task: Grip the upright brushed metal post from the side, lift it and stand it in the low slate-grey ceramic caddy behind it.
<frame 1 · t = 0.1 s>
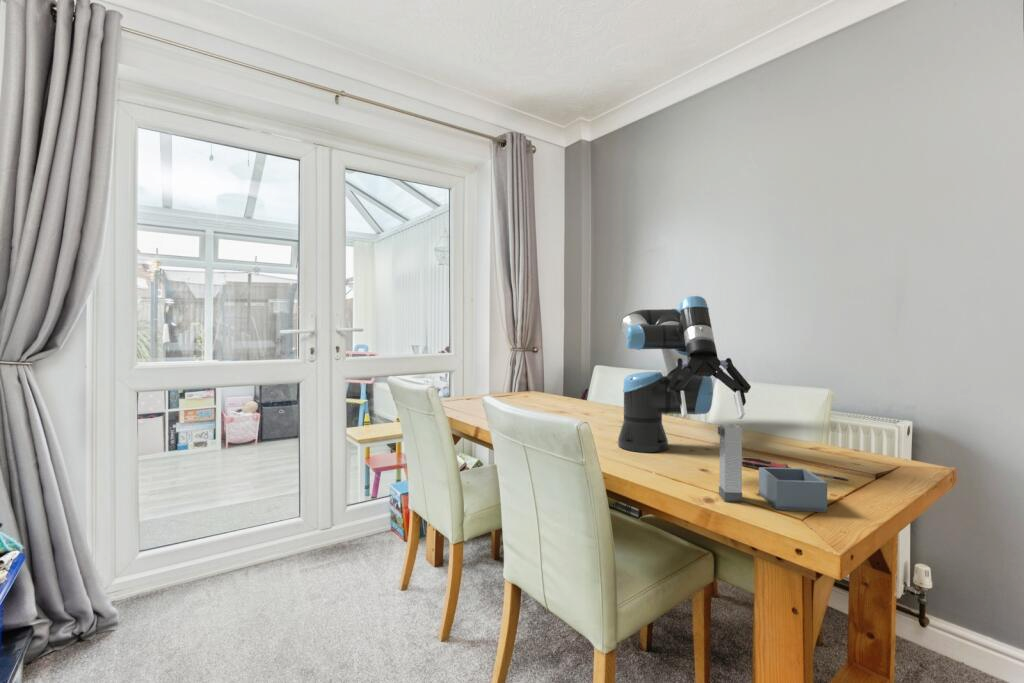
hand: (713, 416, 118), 15 cm above the table, fingers open, 13 cm apart
caddy: (791, 502, 101), on the table
screwdriver: (790, 476, 120), on the table
brushed metal post: (730, 498, 104), on the table
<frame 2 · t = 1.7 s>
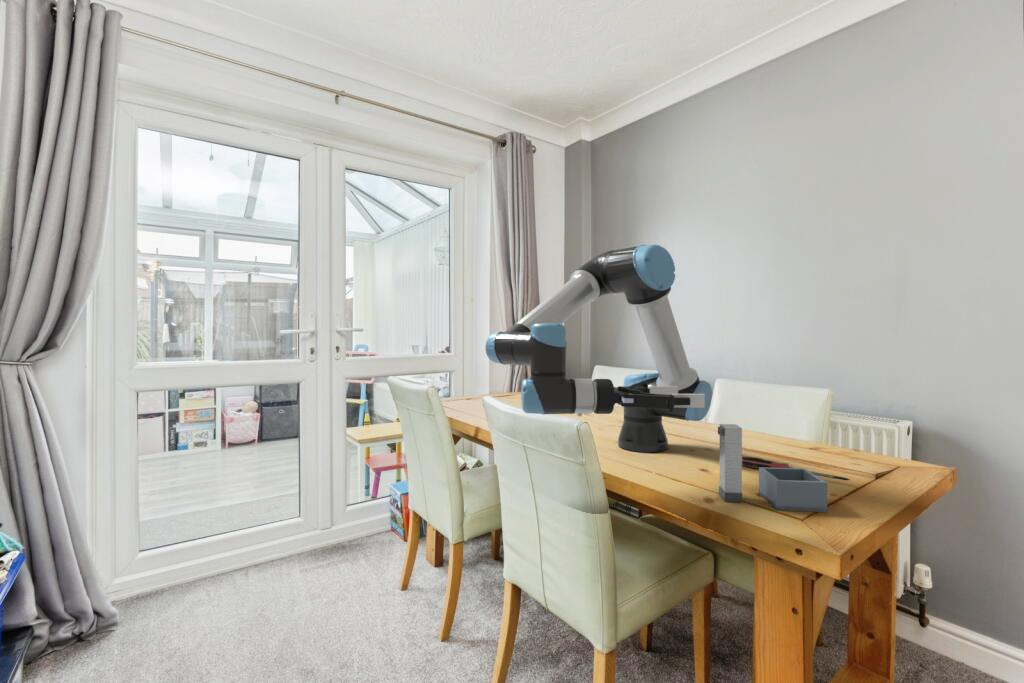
hand: (689, 396, 103), 23 cm above the table, fingers open, 13 cm apart
nothing on the table moved.
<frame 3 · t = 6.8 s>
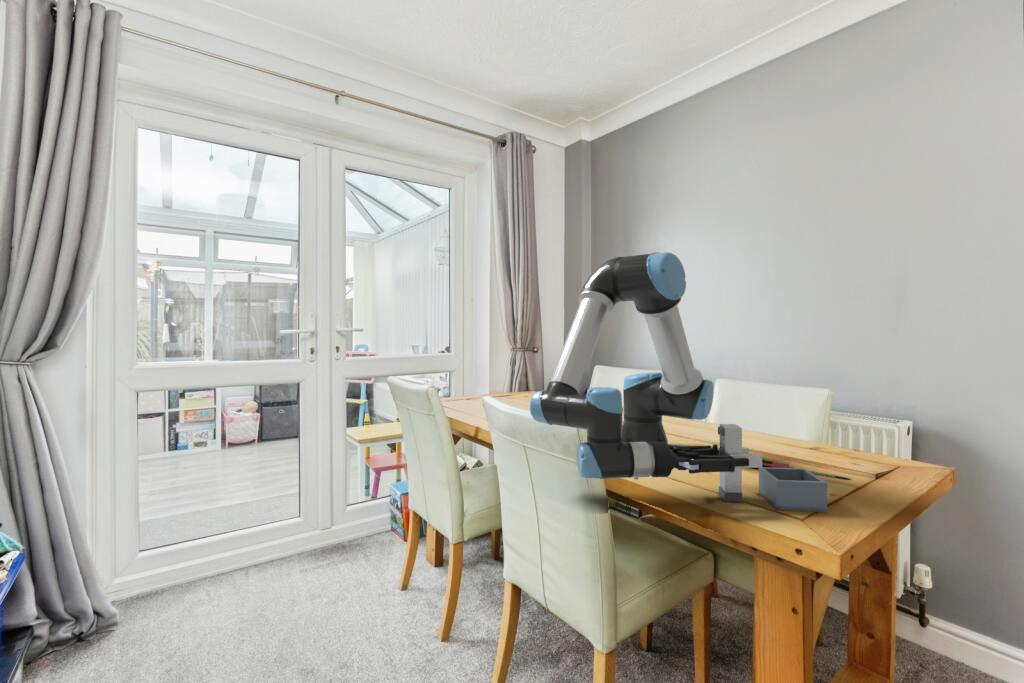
hand: (754, 457, 103), 9 cm above the table, fingers closed on brushed metal post, 4 cm apart
brushed metal post: (730, 498, 104), on the table, touching gripper
everything else where it was.
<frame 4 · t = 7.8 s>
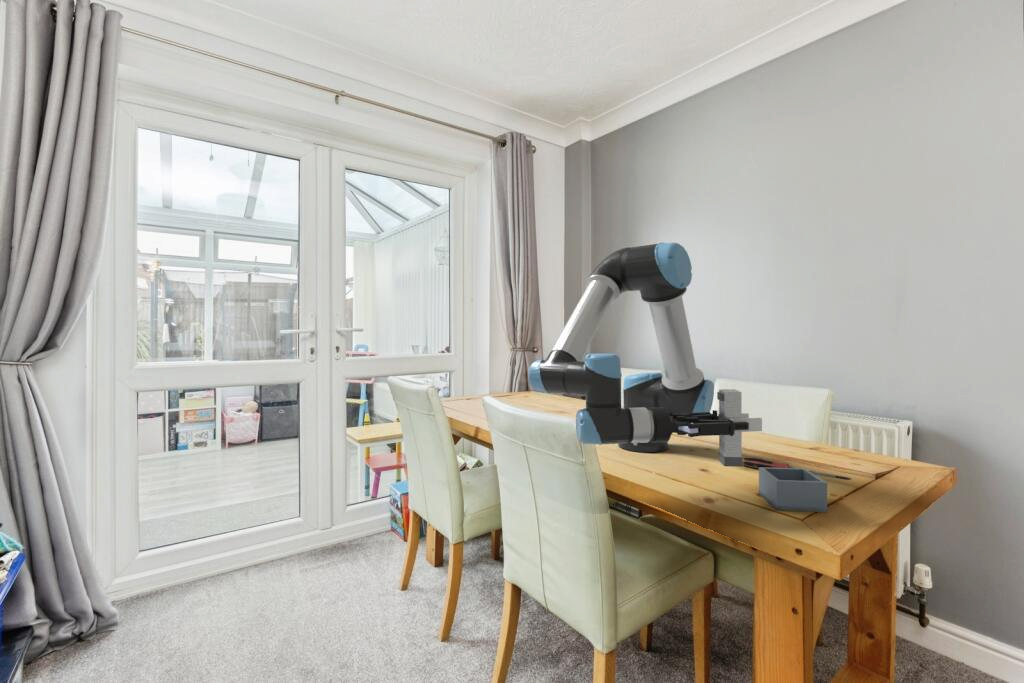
hand: (754, 421, 103), 17 cm above the table, fingers closed on brushed metal post, 4 cm apart
brushed metal post: (730, 463, 103), point 8 cm above the table, touching gripper
everything else where it was.
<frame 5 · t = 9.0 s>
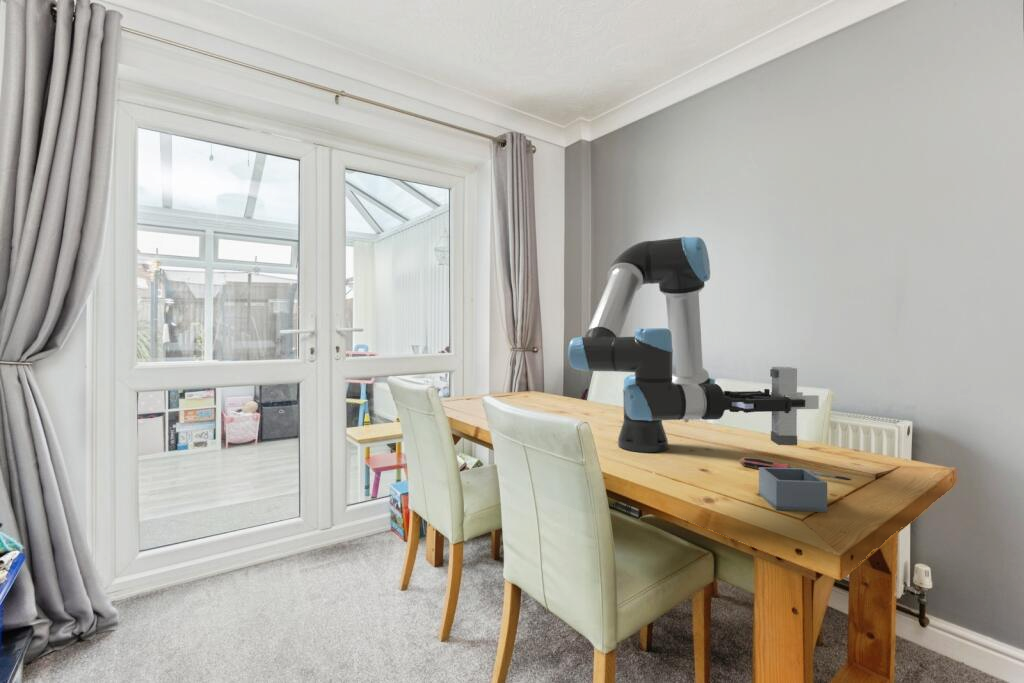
hand: (809, 400, 100), 22 cm above the table, fingers closed on brushed metal post, 4 cm apart
brushed metal post: (783, 442, 100), point 13 cm above the table, touching gripper
everything else where it was.
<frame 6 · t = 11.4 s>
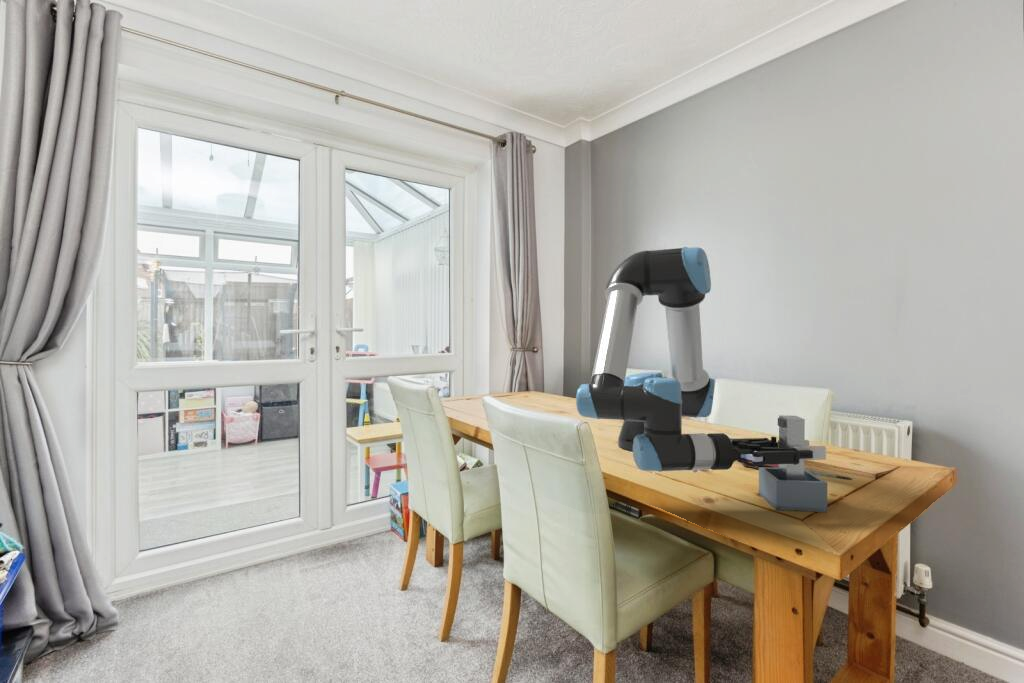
hand: (815, 449, 101), 11 cm above the table, fingers closed on brushed metal post, 4 cm apart
brushed metal post: (791, 491, 101), point 2 cm above the table, touching gripper
everything else where it was.
when the fingers open (11 cm above the table, at t = 11.8 s): brushed metal post drops 1 cm, resting on caddy.
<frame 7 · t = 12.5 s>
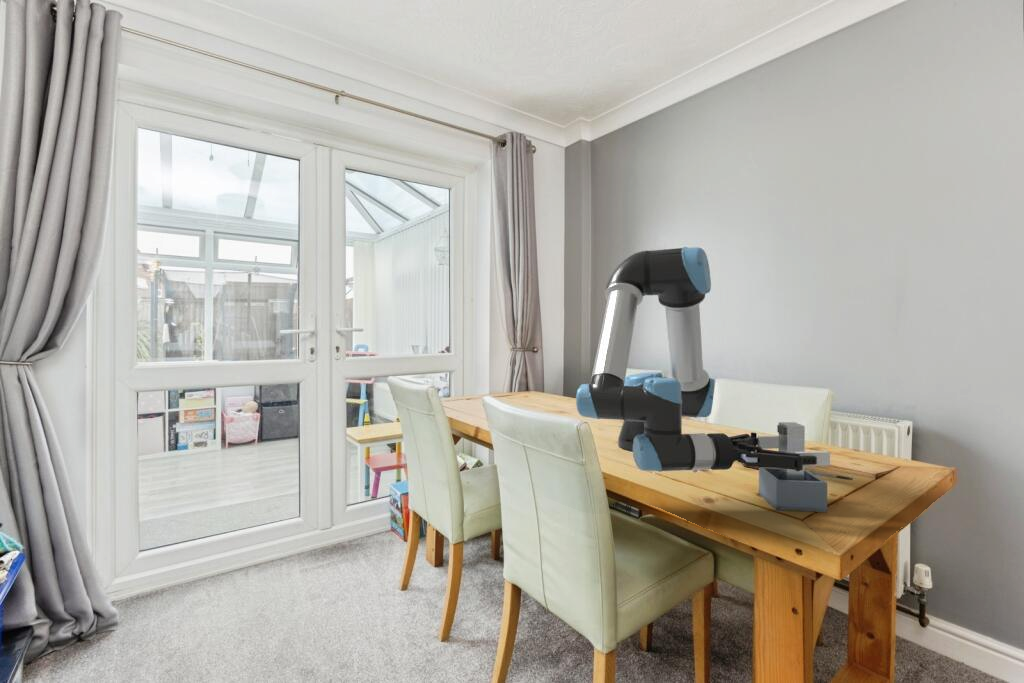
hand: (806, 449, 101), 11 cm above the table, fingers open, 13 cm apart
brushed metal post: (790, 498, 101), point 1 cm above the table, touching caddy
everything else where it was.
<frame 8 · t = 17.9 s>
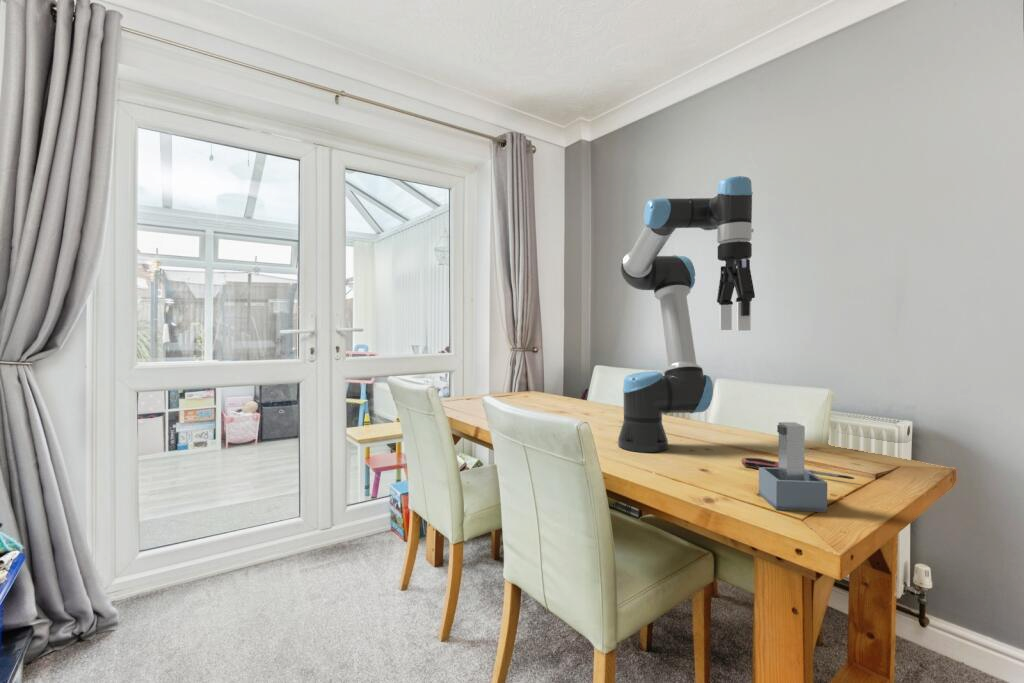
hand: (734, 330, 116), 37 cm above the table, fingers open, 13 cm apart
at the end: brushed metal post inside the target area on the caddy (0.0 cm from its centre), point 0.8 cm above the caddy's base; brushed metal post tilted 0°; the gripper is holding nothing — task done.
